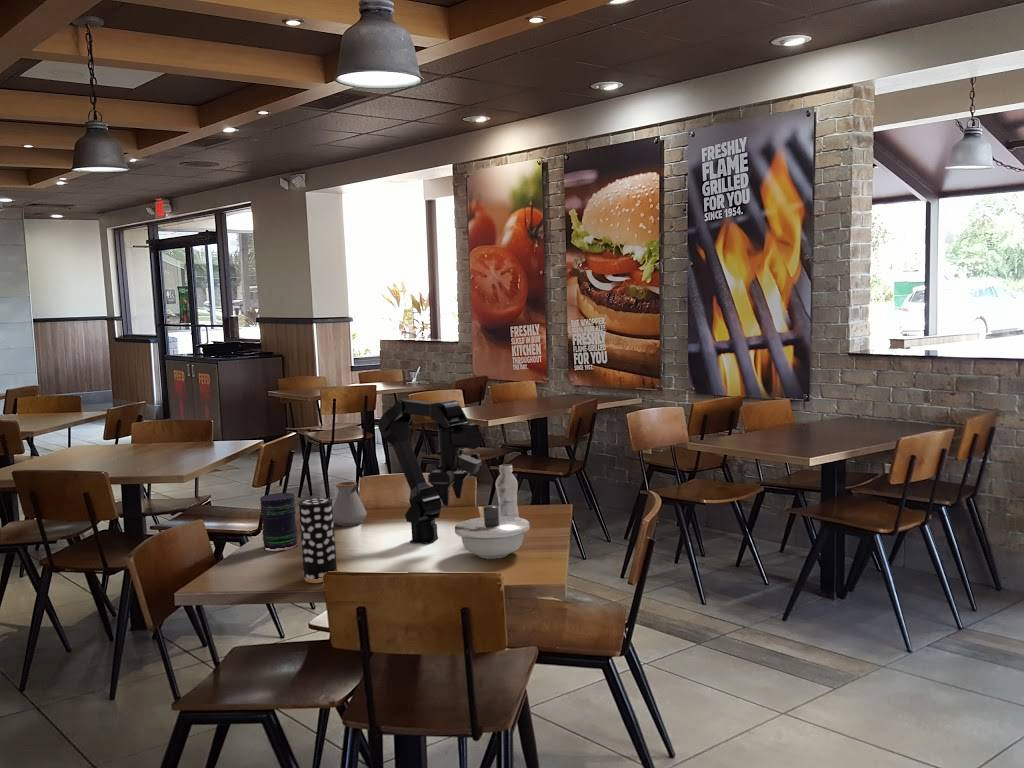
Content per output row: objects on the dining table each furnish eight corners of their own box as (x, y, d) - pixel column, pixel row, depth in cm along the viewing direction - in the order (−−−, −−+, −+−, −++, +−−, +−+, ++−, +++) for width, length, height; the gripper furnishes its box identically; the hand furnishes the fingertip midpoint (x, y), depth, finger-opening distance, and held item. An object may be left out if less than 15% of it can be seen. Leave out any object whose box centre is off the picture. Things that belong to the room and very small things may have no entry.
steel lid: (443, 538, 239) (442, 514, 238) (470, 519, 258) (468, 497, 257) (516, 540, 233) (515, 516, 232) (538, 521, 252) (537, 499, 251)
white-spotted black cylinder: (305, 585, 227) (299, 506, 225) (303, 576, 235) (297, 499, 233) (339, 581, 229) (333, 502, 228) (335, 572, 237) (330, 496, 236)
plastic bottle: (518, 535, 265) (515, 467, 263) (495, 535, 266) (492, 467, 265) (522, 529, 271) (519, 463, 269) (500, 529, 273) (497, 463, 271)
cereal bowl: (504, 567, 235) (503, 539, 234) (450, 560, 243) (449, 534, 242) (535, 549, 249) (534, 524, 249) (483, 544, 257) (482, 519, 257)
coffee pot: (327, 522, 294) (324, 476, 292) (362, 517, 298) (359, 472, 297) (342, 536, 274) (338, 487, 273) (379, 531, 279) (376, 482, 277)
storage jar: (269, 553, 259) (265, 501, 257) (259, 546, 267) (255, 496, 266) (303, 547, 264) (299, 496, 263) (292, 540, 272) (288, 491, 271)
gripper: (464, 452, 241) (467, 510, 242) (488, 441, 259) (491, 495, 260) (425, 452, 244) (429, 509, 246) (451, 441, 262) (454, 494, 264)
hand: (452, 502), depth 254 cm, fingers open, 9 cm apart
